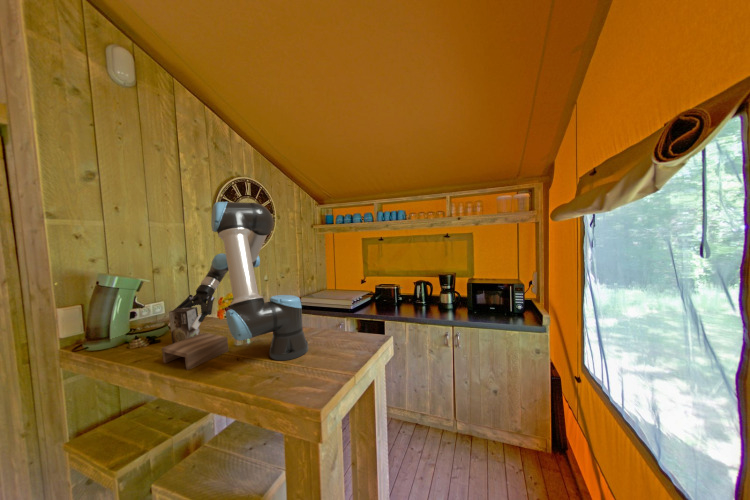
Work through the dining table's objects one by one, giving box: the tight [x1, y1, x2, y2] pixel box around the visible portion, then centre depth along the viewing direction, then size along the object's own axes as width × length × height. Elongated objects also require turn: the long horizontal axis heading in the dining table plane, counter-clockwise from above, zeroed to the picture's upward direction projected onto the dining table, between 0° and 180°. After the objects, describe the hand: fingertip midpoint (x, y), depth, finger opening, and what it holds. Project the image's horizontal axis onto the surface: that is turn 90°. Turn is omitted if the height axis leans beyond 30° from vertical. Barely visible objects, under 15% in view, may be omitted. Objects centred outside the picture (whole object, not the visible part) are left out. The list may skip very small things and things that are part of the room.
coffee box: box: [168, 306, 201, 344], centre depth 120 cm, size 9×6×16 cm
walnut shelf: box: [161, 332, 229, 371], centre depth 106 cm, size 16×16×6 cm
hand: (182, 327), depth 119 cm, fingers open, 13 cm apart
